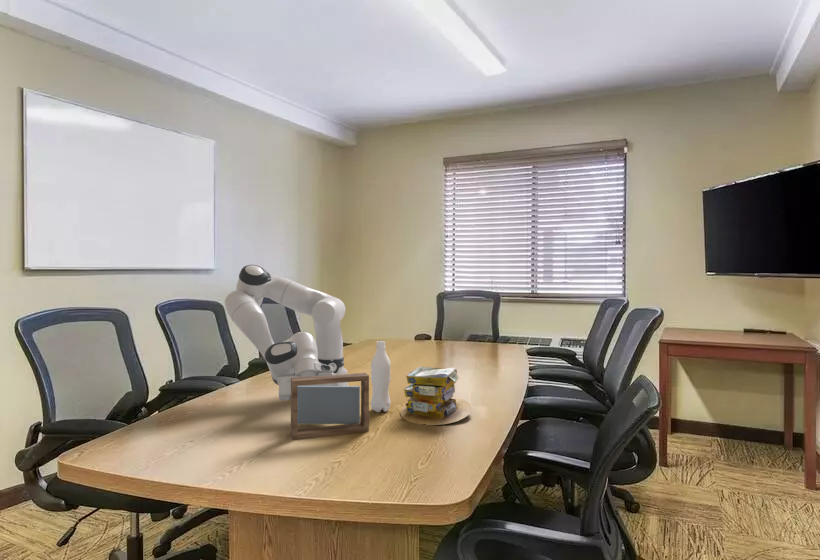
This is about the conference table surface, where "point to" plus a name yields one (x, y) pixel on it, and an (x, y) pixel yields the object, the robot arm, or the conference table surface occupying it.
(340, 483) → the conference table surface
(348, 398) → the door
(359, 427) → the brown wooden frame
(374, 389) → the water bottle
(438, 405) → the yellow stacked packages
